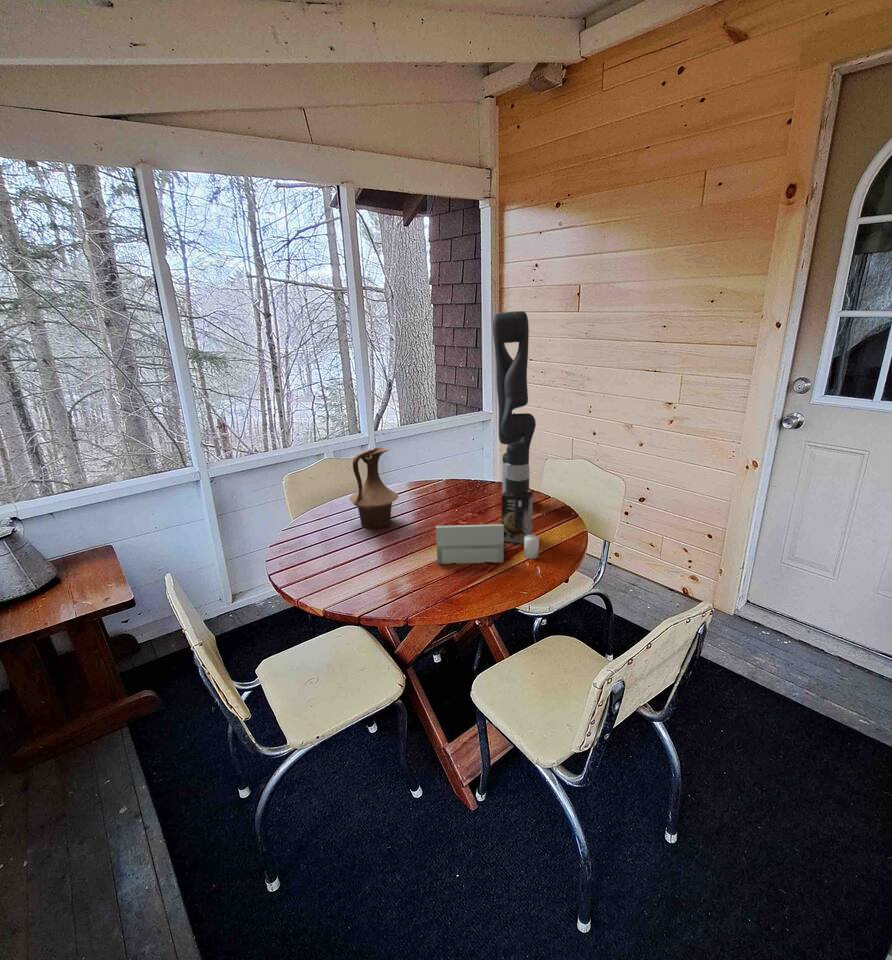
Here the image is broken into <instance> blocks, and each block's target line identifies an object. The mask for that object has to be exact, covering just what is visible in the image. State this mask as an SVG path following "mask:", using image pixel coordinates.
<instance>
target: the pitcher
mask: <svg viewBox="0 0 892 960" xmlns="http://www.w3.org/2000/svg"><path fill="white" fill-rule="evenodd" d="M388 451H389V449H388V448H385V447H374V448H373V449H370V448H369V449H366V450H364V451H362V452H359V453H357V454H356V455H355V456H354V457H353V460H352V471H353V474H354V477H355V479H356V481H357V482H356V483H357V486H358V490H357V491H356V492H354V493H353V494H352V495H351V496H350V497H349V501H350V503H351V504H353V505H354V506H355V507H357V510H358V514H359V519H360V525H361V526H362V527H363V528H365V529H369V530H377V529H383V528H386V527H388V526H390V525H391V523H392V519H391V518H392V516H391V515H392V508H393V507H392V505H393V503H394V502H395V501H396V500H397V499H399V494H398V493H397V492H395V491H393V490H392V489H390V488H389V487H388V486H386V485H385V484H384V483H383V481H382V480H381V478H380V474H379V459H380V458H381V456H382V454H384V453H386V452H388ZM360 460H362V461H363V462H364V463H365V464H366V468H367V469H366V470H367V471H366V472H367V474H366V475H367V476H366V479H365V482H364V484H363V483H362V478H361V474H360V471H359V461H360Z"/></svg>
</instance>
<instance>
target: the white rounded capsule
mask: <svg viewBox="0 0 892 960" xmlns="http://www.w3.org/2000/svg"><path fill="white" fill-rule="evenodd" d="M539 546H540V537H539V536H538V535H535V534H532V535H526V536H525V537H524V544H523V556H524V557H525V558H526V559H530V560H534V559H537V558H539V551H540V549H539V548H540V547H539Z"/></svg>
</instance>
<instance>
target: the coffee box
mask: <svg viewBox="0 0 892 960" xmlns="http://www.w3.org/2000/svg"><path fill="white" fill-rule="evenodd" d="M522 500H524V518H522V528H521V529H516V528H515V517H514V515H515V512H514V511H513V504H514V505H515V496H514V493H511V492H508V491H507V490H506V491H505V492H504V493H503V494H501V515H500V516H501V519H500V520H501V523H500V524H503V525H504V542H510V543H514V542H515V543H516V544H521V543H522V545H524V537H525V536H526V535H533V534H532V532H533V531H532V530H533V529H532V527H533V506H534V505H533V504H534V502H533V501H534V491H533V492H531V491H527V492H524V493H522ZM515 508H516V505H515ZM517 514H521V511H518V512H517Z"/></svg>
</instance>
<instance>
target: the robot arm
mask: <svg viewBox="0 0 892 960" xmlns="http://www.w3.org/2000/svg"><path fill="white" fill-rule="evenodd" d="M529 328H530V327H529V318H528V314H527V312H525V311H521V310H519V311H508V312H506V311H505V312H499V313H496V314H494V315H493V319H492V334H493V335H492V336H493V342H494V352H495V361H496V362H495V363H496V365H495V366H496V369H495V370H496V391H497V400H498V401H497V402H498V404H497V405H498V440H499V442H500V444H502V445H507V446H506V452H505V453H504V454H502V459H501V460H502V482H501V483H502V489H501V490H502V491H501V492H502V494H503V493H504V492H505V491H506V490H507V491H508V492H511V493H514V496H515V505H516V508H515V505H514V504H513V511H514V512H515V515H514V517H515V528H516V529H521V528H522V518H524V500H522V493H524V492H529V491H530V447H531V442H532V439H533V436H534V433H535V430H536V425H537V424H536V422H537V421H536V417H535V416H534V415H533V414H531V413H529V412H528V413H527V412H526V413H523V412H522V413H513V411H514V410H516V409H520V408H522V407H525V406H527V404H528V402H529V394H528V393H529V391H528V361H529V340H530V339H529V337H530V336H529V334H530V333H529V332H530V329H529ZM506 343H507V344H510V343H511V344H512V343H518V348H517V352H516V355H515V356H514V359H513V357H512V356H511V355H510V353H509V352H508V349H507V348H506V345H505V344H506ZM502 494H501V495H502ZM518 511H521V514H517V512H518Z"/></svg>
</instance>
